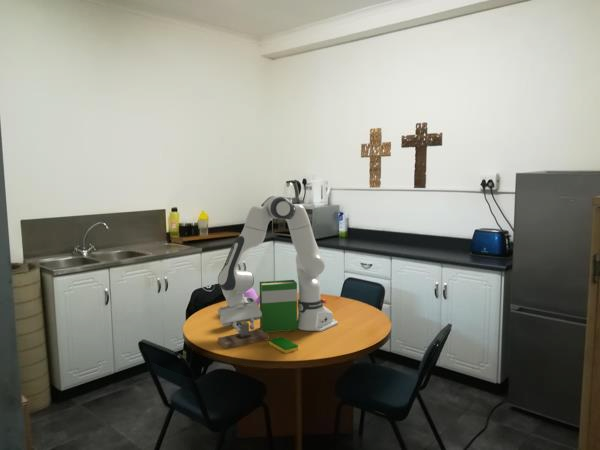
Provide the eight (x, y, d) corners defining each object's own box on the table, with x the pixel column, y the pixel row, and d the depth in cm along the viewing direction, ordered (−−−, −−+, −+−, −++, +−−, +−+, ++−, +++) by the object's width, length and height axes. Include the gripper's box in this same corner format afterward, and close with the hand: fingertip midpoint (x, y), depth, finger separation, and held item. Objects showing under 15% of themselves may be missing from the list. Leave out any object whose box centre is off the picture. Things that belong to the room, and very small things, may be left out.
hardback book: (262, 332, 228) (261, 285, 225) (260, 327, 235) (259, 281, 232) (297, 329, 232) (296, 283, 229) (293, 324, 239) (293, 279, 236)
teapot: (263, 318, 249) (263, 291, 247) (226, 318, 250) (226, 291, 248) (266, 307, 269) (266, 282, 267) (232, 307, 269) (232, 282, 267)
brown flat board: (260, 333, 227) (260, 328, 227) (268, 339, 219) (268, 334, 219) (218, 342, 215) (218, 337, 215) (226, 348, 208) (225, 343, 207)
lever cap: (246, 335, 220) (245, 319, 218) (248, 337, 217) (248, 321, 216) (238, 337, 217) (238, 321, 216) (241, 339, 215) (240, 323, 214)
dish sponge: (281, 341, 218) (281, 336, 218) (298, 350, 207) (298, 345, 207) (268, 344, 214) (268, 339, 214) (285, 354, 203) (285, 348, 203)
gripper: (218, 304, 215) (227, 331, 208) (257, 297, 226) (267, 322, 219) (215, 311, 220) (223, 337, 213) (253, 304, 230) (262, 329, 223)
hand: (246, 330), depth 216 cm, fingers open, 6 cm apart
